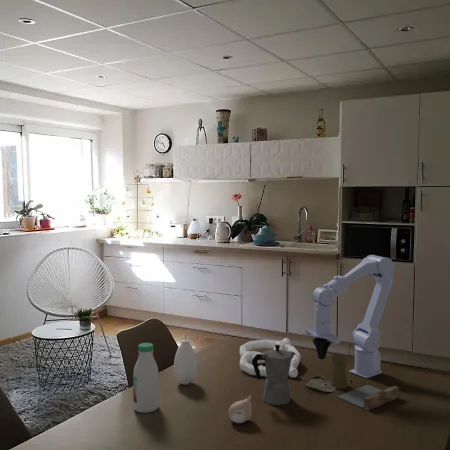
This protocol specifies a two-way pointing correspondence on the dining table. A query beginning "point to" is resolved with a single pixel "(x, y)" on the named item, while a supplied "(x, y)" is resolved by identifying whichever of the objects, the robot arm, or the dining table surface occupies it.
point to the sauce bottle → (185, 363)
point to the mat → (359, 395)
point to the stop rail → (380, 398)
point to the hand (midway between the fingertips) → (321, 358)
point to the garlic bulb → (241, 410)
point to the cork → (339, 371)
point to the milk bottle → (145, 381)
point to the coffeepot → (275, 375)
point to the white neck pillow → (249, 355)
